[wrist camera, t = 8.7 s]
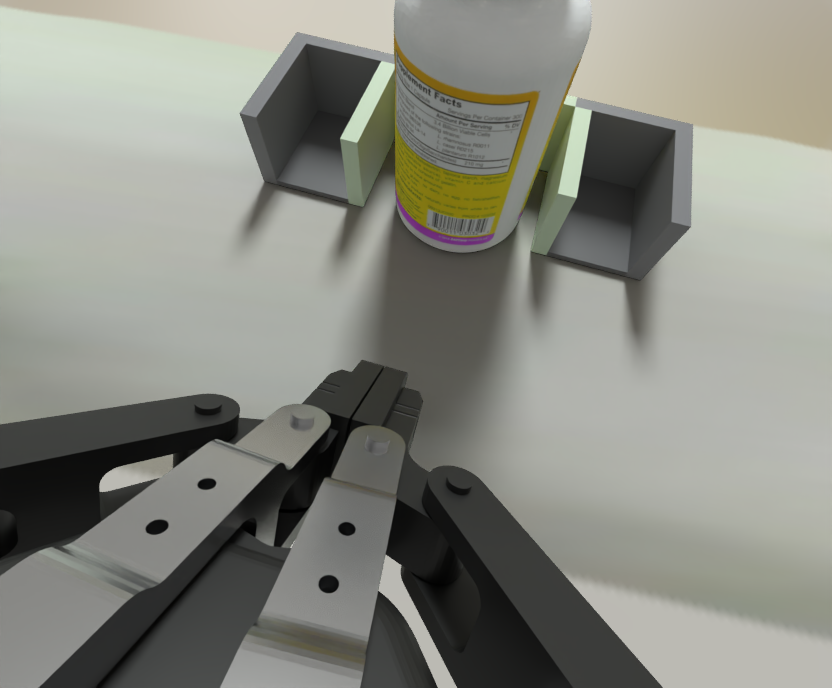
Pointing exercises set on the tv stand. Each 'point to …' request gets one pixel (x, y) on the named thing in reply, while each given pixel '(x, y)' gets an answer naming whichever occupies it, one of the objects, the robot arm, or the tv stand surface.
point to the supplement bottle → (478, 110)
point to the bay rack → (563, 160)
